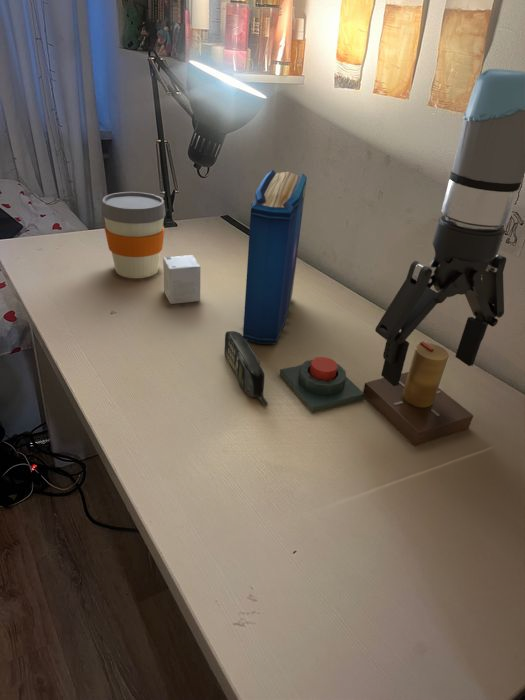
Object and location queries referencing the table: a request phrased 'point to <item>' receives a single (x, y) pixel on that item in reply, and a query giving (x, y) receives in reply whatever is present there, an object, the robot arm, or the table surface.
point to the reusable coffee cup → (134, 232)
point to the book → (272, 254)
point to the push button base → (320, 388)
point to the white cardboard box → (181, 279)
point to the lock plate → (417, 412)
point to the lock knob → (425, 374)
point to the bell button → (323, 368)
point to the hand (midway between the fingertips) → (428, 370)
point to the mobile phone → (245, 365)
